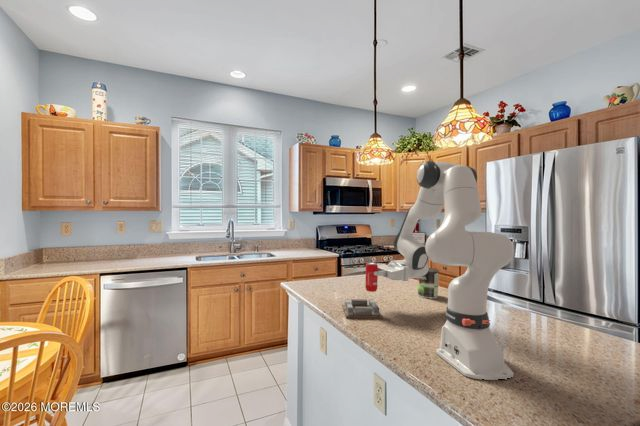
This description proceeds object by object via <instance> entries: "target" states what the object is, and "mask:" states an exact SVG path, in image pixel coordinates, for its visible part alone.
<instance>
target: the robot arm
mask: <svg viewBox="0 0 640 426" xmlns="http://www.w3.org/2000/svg"><path fill="white" fill-rule="evenodd" d="M477 181H478V174H477V171H476V169H475V168H473V167H471V166H468V165H464V164H458V163H451V162H448V161H447V162H446V161H433V160H430V161H429V160H428V161H424V162H422V163H420V165H419V167H418V169H417V172H416V182H417V184H418V185H419V186H420V187H419V191H418V194H417V197H416V201H415V203H413V204H411V206H410V207H409V208H408V210H407V212H406V213H405V217H404V219H403V221H402V224H401V226H400V228H399V232H398V233H397V235H396V236H395V238H394V239H393V249H394V251H396V252H398V254H400V255H402V256H403V257H404V258H403V259H398V260H390V261H389V262H388V264H385V263H378V262H376V263H377V265H378V271H373V275H375V276H379V277H384V278H385V279H388V280H391V281H403V282H408V281H409V279H410V280H411V279H418V278H419V277H422V276H424V275H426V274H427V272H428V269H429V268H430V267H429V263H428V260H430V261H431V262H432V263H434V264H439V265H443V266H450V267H451V266H452V267H457V266H458V267H467V269H466V270H465V271H464V273H463V274H461V275H459V276H457V277H455V278H454V279H452V280H451V281H450V283H449V284H448V287H447V290H448V293H447V306H446V309H445V318H446V321H445V323H444V325H442V327H441V332H440V343H439V347H438V348H436V349H435V354H437V356H439V357H440V358H442V360H444V361H445V362H446V363H448V364H449V365H450V366H452V367H453V368H454V369H456V370H457V372H459V373H460V374H461V375H463V376H464V377H468V378H470V379H476V380H482V379H484V380H483V381H499V380H498V379H505V380H508V379H507V378H510V379H512V378H514V377H515V376H514V375H515V374H514V372H513V371H512V369H511V368H510V367H509V366H508V365H507V363H506V362H505V361H504V359H505V358H504V345H503V344H502V343H499V342H498V340H497V339H496V337H495V334H493V332H492V330H491V328H490V326H491V323H490V322H491V320H490V316H489V314H488V312H487V301H488V300H487V299H488V291H489V287H490V283H491V282H492V280H493V278H494V277H495V276H496V274H497V273H498V272H499V271H500V270H502V269H503V268H504V267H505V266H507V265H509V264H510V263H511V261H512V259H513V257H514V254H515V250H514V244H513V242H512V241H511V239H510V238H509V237H508V236H507V235H506V234H502V233H496V232H491V231H467V230H466V226H468V225H470V224H472V223H474V222H476V221H478V220H479V218H480V216H481V215H482V206H481V198H480V193H479V188H478V184H477ZM443 208H444V215H443V217H444V218H443V220H442V223H441V225H440V226H439V227H438V228H437V229H436V230H435V231H434V232H432V233H431V234H430V235H429V236H427V238H426V242H425V245H424V244H422V242H420V241H418V240H417V239H416V238H415V237H414V235H413V233H414V230H415V228H416V226H417V224H418V221H420V220H432V219H435V218H437V217H438V216H439V215H440V214H441V213H442V211H443ZM513 376H514V377H513ZM511 377H512V378H511Z"/></svg>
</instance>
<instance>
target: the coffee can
mask: <svg viewBox="0 0 640 426" xmlns="http://www.w3.org/2000/svg"><path fill="white" fill-rule="evenodd" d="M417 296H418V297H419V298H422V297H423V298H422V299H428V298H429V299H430V300H431V299H433V300H434V299H437V298H438V297H439V269H437V268H431V267H429V269H428V272H427V274H426V275H424V276H422V277H419V278H417Z"/></svg>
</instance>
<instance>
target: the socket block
mask: <svg viewBox="0 0 640 426" xmlns="http://www.w3.org/2000/svg"><path fill="white" fill-rule="evenodd" d="M341 306H342V310H343V312H344V316H345V319H367V320H368V319H371V320H372V319H380V320H381V319H382V318H383V315H382V313H381V312H380V308H379V306H378V304H377V302H376V301H375V300H374V299H373V298H369V299H366V298H365V299H364V298H352V299H350V298H345V299H344V304H342V305H341Z"/></svg>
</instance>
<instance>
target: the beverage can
mask: <svg viewBox="0 0 640 426" xmlns="http://www.w3.org/2000/svg"><path fill="white" fill-rule="evenodd" d="M377 263H378V262H370V261H369V262H366V265H365V284H364V286H365V291H367V292H370V293H373V292H377V291H378V290H377V289H378V276H375V275H373V271H378V265H377Z"/></svg>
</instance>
